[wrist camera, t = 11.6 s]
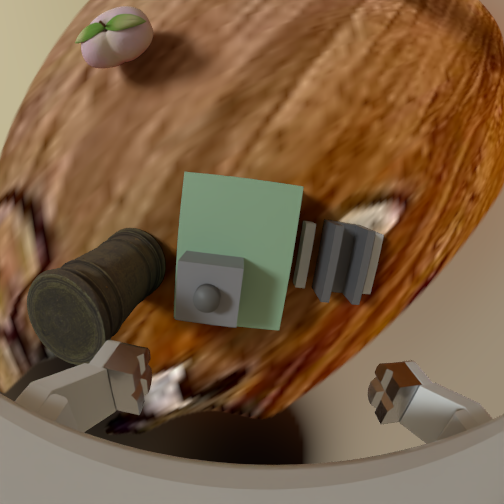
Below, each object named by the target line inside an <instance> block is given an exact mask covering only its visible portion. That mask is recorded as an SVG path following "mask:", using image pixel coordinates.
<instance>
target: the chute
mask: <svg viewBox="0 0 504 504" xmlns="http://www.w3.org/2000/svg"><path fill="white" fill-rule="evenodd" d="M375 233H376V232H375V231H373V230H371V229H368V228H366V227H363V226H361V225H356V224H350V223H344V222H338V221H332V220H325V219H324V224H323V230H322V236H321V242H320V247H319V253H318V258H317V263H316V268H315V273H314V279H313V283H312V288H313V290H314V292H315V293H316V295H317V296H318V298H319V300H320V301H321V302H329V299H330V295H331V292H339V293H343V294H344V296H345V297H346V298H347V299H348V300H349V302H350V303H351V304H355V305H359V303H360V299H361V295H362V291H363V287H364V283H365V279H366V275H367V271H368V267H369V262H370V258H371V253H372V248H373V243H374V238H375Z"/></svg>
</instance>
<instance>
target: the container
mask: <svg viewBox="0 0 504 504" xmlns="http://www.w3.org/2000/svg"><path fill="white" fill-rule="evenodd" d="M164 274H165V258H164V254H163V251H162V249H161V247H160V245H159V244H158V242H157V241H156V240H155V239H154V238H153V237H152V236H151V235H149V234H148V233H146V232H144V231H142V230H139V229H136V228H125V229H122V230H120V231H118V232H116V233H115V234H114V235H112V236H111V237H110V238H109V239H108V240H107V241H105V242H103V243H102V244H101V245H100V246H99V247H98V248H96V249H94V250H92V251H90V252H88V253H86V254H84V255H82V256H80V257H78V258H76V259H75V260H71V261H69V262H67V263H65V264H64V265H63V266H62V267H61V268H57V269H52V270H47V271H45V272H43V273H41V274H40V275H38V276H37V277H36V279H35V280H34V281H33V283H32V285H31V287H30V289H29V292H28V297H27V308H28V314H29V318H30V321H31V324H32V326H33V328H34V330H35V332H36V334H37V336H38V337H39V339H40V340H41V341H42V343H43V344H44V345H45V346H46V347H47V348H48V349H49V350H50V351H51V352H52V353H53V354H54V355H56V356H57V357H59V358H61V359H62V360H64V361H66V362H69V363H72V364H77V365H81V364H84V363H87V364H89V363H90V361H91V360H92V359H93V358H94V356H95V355H96V354H97V352H98V351H99V350H100V348H101V347H102V346H103V345H104V343H105V342H106V341H107V340H110V339H111V337H112V336H114V335H115V334H116V333H117V332H118V330H119V329H120V327H121V325H122V323H123V322H124V321H125V320H126V318H127V317H128V316H129V315H130V313H131V312H132V311H133V309H134V308H135V307H136V306H137V304H139V303H140V302H142V301H143V300H144V299H145V298H146V297H147V296H149V295H150V294H151V293H153V291H154V290H156V289H157V288H158V287H159V285H160V284H161V282H162V280H163V278H164Z"/></svg>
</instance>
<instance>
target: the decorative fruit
mask: <svg viewBox="0 0 504 504" xmlns="http://www.w3.org/2000/svg"><path fill="white" fill-rule="evenodd" d="M152 38H153V29H152V26H151V24H150V22H149V20H148V18H147V16H146V15H145V14H144V13H143V12H142V11H141V10H139V9H137V8H134V7H128V6H124V7H117V8H114V9H111V10H108V11H106V12H104V13H102V14H101V15H99V16H98V17H97V18H95V19H94V20H93V21H92V22H91V24H90V25H89V26H87V27H86V28H85V29H83V30H82V32H81V33H80V34H79V36H78V37H77V39H76V42H75V43H81V42H82V44H81V50H82V54H83V57H84V59H85V61H86V62H87V63H88V64H89V65H90V66H92V67H95V68H110V67H116V66H119V65H121V64H122V63H124V62H129V61H132V60H134V59H136V58H137V57H139V56H140V55H141V54H142V53H143V52H144V51H145V50H146V49H147V48H148V47H149V45H150V44H151V41H152Z"/></svg>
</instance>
